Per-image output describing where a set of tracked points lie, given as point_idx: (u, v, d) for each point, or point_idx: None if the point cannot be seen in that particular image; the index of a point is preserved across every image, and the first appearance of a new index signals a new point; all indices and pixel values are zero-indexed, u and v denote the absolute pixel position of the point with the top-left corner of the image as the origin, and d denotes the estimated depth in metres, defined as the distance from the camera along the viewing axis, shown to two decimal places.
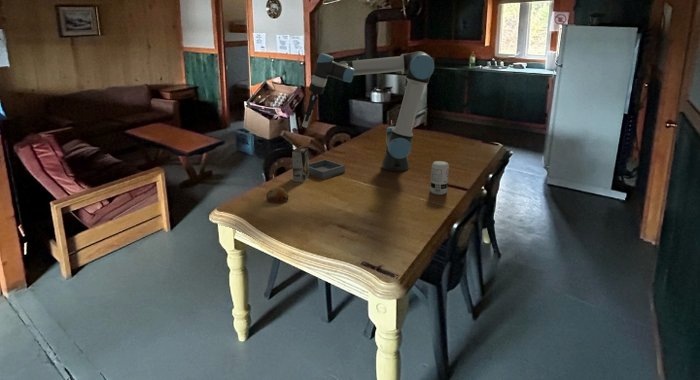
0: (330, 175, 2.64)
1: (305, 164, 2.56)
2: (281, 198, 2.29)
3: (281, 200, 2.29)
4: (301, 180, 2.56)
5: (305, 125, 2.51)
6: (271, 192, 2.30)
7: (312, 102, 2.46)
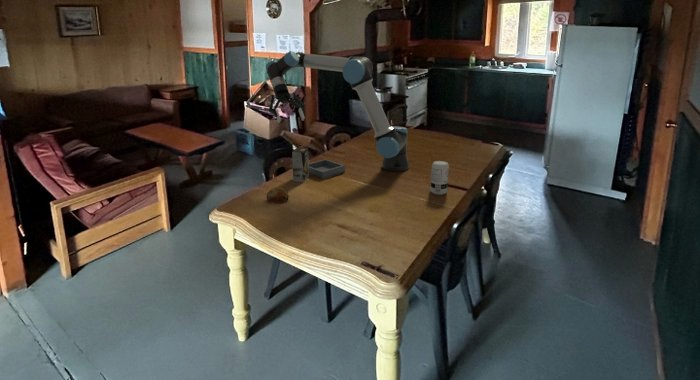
0: (330, 175, 2.64)
1: (305, 164, 2.56)
2: (281, 198, 2.29)
3: (281, 200, 2.29)
4: (301, 180, 2.56)
5: (278, 120, 2.58)
6: (271, 192, 2.30)
7: (271, 100, 2.62)
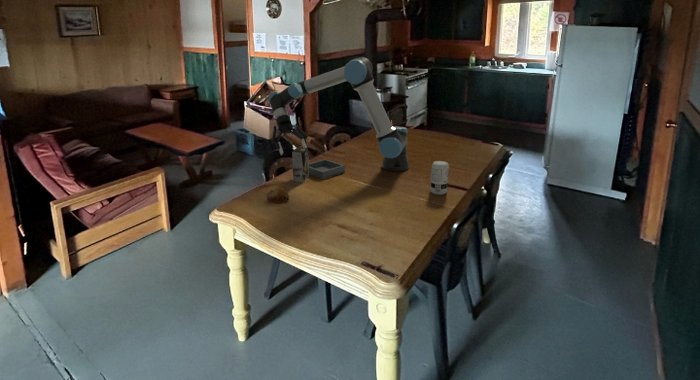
0: (330, 175, 2.64)
1: (305, 164, 2.56)
2: (282, 199, 2.29)
3: (282, 200, 2.29)
4: (301, 180, 2.56)
5: (281, 151, 2.58)
6: (272, 192, 2.30)
7: (273, 131, 2.62)
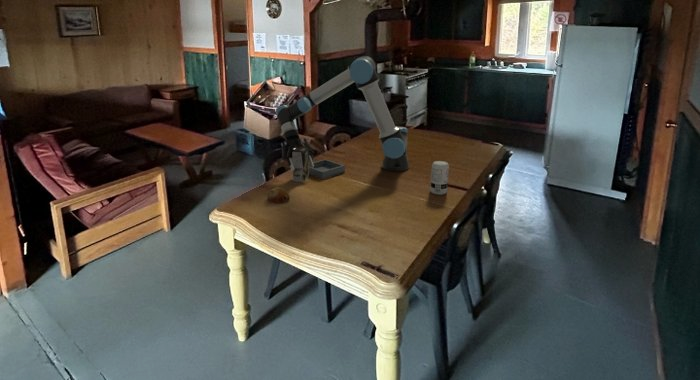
0: (330, 175, 2.64)
1: (305, 164, 2.56)
2: (282, 199, 2.29)
3: (282, 200, 2.29)
4: (301, 180, 2.56)
5: (292, 168, 2.54)
6: (272, 192, 2.30)
7: (282, 147, 2.57)
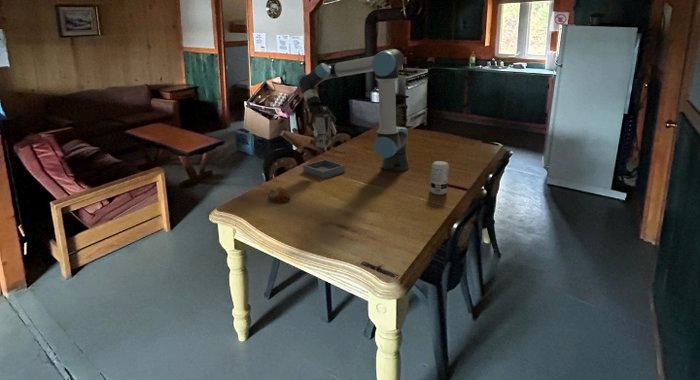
0: (330, 175, 2.64)
1: (328, 130, 2.61)
2: (283, 199, 2.29)
3: (283, 200, 2.29)
4: (324, 145, 2.61)
5: (315, 134, 2.58)
6: (273, 192, 2.30)
7: (305, 114, 2.62)
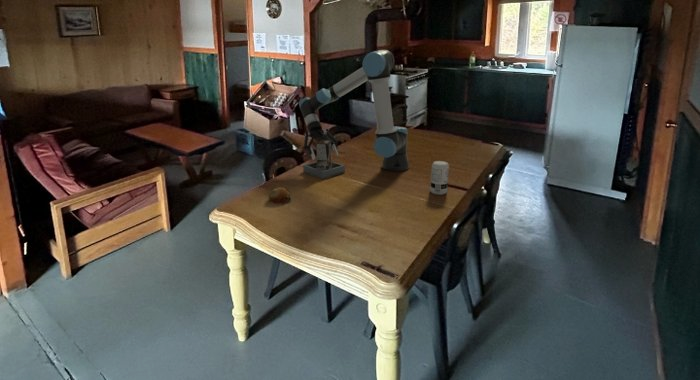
0: (330, 175, 2.64)
1: (329, 156, 2.66)
2: (284, 199, 2.29)
3: (283, 200, 2.29)
4: None
5: (313, 157, 2.63)
6: (273, 192, 2.30)
7: (305, 137, 2.67)
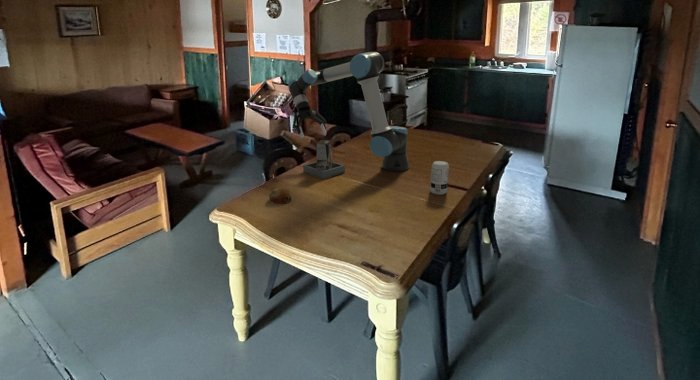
0: (330, 175, 2.64)
1: (329, 156, 2.66)
2: (284, 199, 2.29)
3: (284, 201, 2.29)
4: None
5: (302, 135, 2.71)
6: (274, 192, 2.30)
7: (294, 117, 2.75)
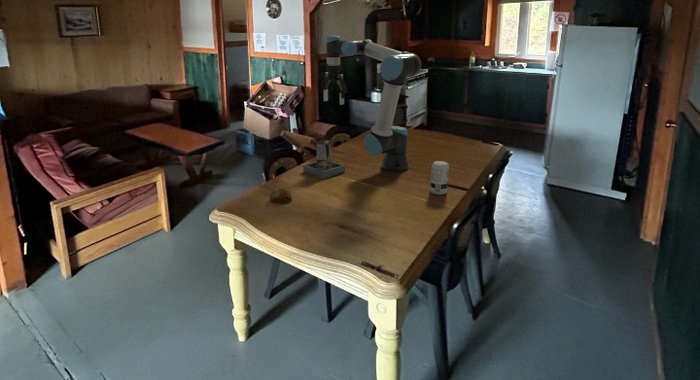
0: (330, 175, 2.64)
1: (329, 156, 2.66)
2: (285, 199, 2.29)
3: (284, 201, 2.29)
4: None
5: None
6: (274, 193, 2.30)
7: None
